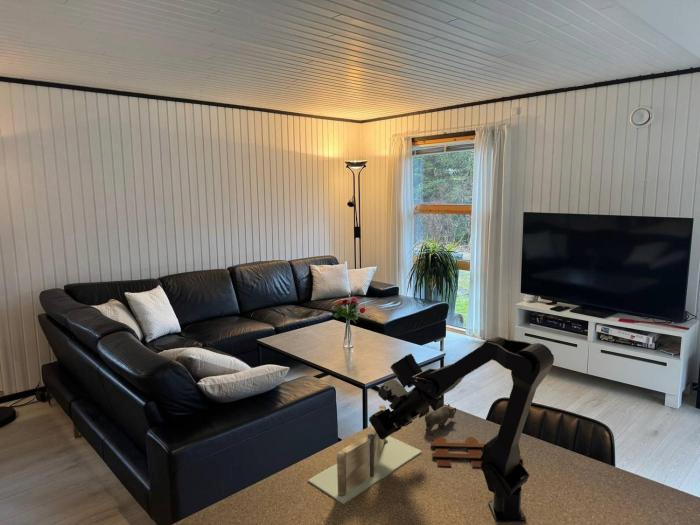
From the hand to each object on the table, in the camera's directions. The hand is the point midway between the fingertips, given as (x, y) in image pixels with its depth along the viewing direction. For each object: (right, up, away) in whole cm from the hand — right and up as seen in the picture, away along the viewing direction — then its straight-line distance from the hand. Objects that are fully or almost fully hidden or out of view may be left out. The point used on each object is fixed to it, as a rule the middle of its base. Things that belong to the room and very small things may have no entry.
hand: (383, 428), depth 131 cm
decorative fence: (+25, -7, 0) cm, 26 cm away
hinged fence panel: (-2, -6, -1) cm, 7 cm away
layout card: (-5, -8, -5) cm, 11 cm away
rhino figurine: (+18, -4, +14) cm, 24 cm away
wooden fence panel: (-7, -9, -14) cm, 18 cm away
